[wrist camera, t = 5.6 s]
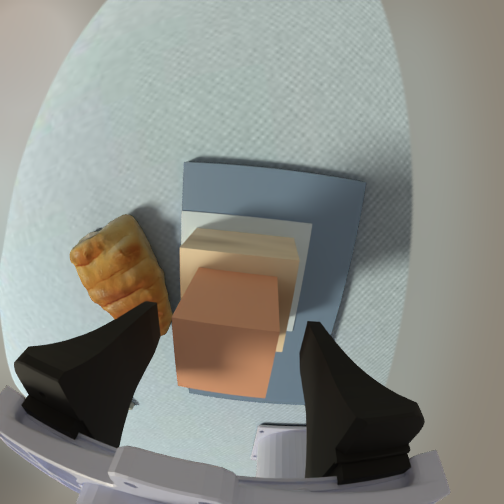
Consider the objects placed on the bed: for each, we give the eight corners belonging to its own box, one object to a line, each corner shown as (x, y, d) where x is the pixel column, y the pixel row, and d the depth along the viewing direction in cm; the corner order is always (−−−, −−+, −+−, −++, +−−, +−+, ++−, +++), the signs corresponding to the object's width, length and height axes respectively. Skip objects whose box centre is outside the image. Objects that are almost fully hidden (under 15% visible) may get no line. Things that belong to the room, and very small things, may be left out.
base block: (280, 319, 19) (282, 352, 16) (196, 309, 19) (183, 339, 16) (293, 237, 17) (299, 260, 13) (196, 227, 17) (179, 247, 14)
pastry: (198, 312, 20) (185, 344, 17) (136, 333, 22) (118, 361, 18) (134, 203, 18) (105, 217, 14) (77, 241, 19) (49, 259, 16)
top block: (267, 338, 15) (265, 398, 11) (198, 329, 15) (178, 385, 11) (277, 276, 14) (279, 331, 10) (198, 267, 14) (171, 317, 10)
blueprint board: (305, 398, 23) (306, 405, 22) (191, 386, 24) (189, 393, 23) (362, 181, 16) (366, 183, 15) (187, 161, 16) (183, 162, 15)
